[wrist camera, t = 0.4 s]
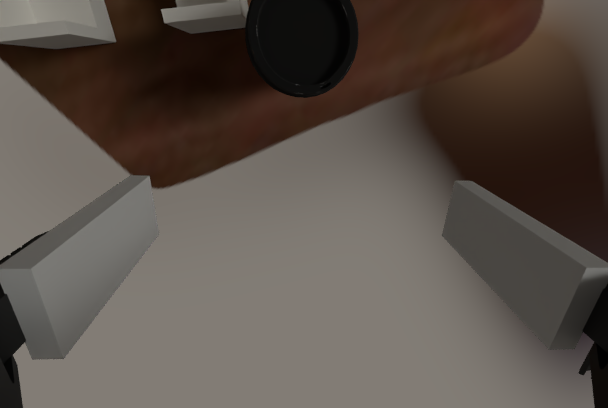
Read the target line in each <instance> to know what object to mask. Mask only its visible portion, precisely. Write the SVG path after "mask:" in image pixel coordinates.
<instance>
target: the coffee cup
mask: <svg viewBox="0 0 608 408" xmlns="http://www.w3.org/2000/svg"><path fill="white" fill-rule="evenodd" d="M245 34H246V45H247V50H248V54H249V57H250V59H251V62H252V64H253V66H254V68H255V69H256V71H257V72H258V74H259V75H260V76H261V77H262V79H263V80H264V81H265V82H266V83H267V84H269V85H270V86H271V87H273V88H274V89H275V90H277V91H279V92H281V93H283V94H286V95H290V96H294V97H304V98H307V97H313V96H318V95H320V94H323V93H325V92H327V91H329V90H330V89H332V88H333V87H335V86H336V85H337V84H338V83H339V82H340V81H341V80H342V79H343V78H344V76H345V75H346V74H347V72H348V71H349V69H350V67H351V65H352V63H353V61H354V58H355V54H356V50H357V46H358V23H357V18H356V14H355V10H354V8H353V5H352V3H351V1H350V0H252V1H251V3H250V6H249V9H248V12H247V17H246V25H245Z"/></svg>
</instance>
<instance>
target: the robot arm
mask: <svg viewBox="0 0 608 408" xmlns="http://www.w3.org/2000/svg"><path fill="white" fill-rule="evenodd" d="M158 235H159V231H158V225H157V218H156V212H155V206H154V200H153V194H152V188H151V182H150V176H131V175H130V176H129V177H128V178H126V179H125V180H123V181H122V182H120V183H119V184H117V185H116V186H114V187H113V188H112V189H110V190H109V191H107V192H106V193H104V194H103V195H101V196H100V197H98V198H97V199H95V200H94V201H93V202H91V203H90V204H88V205H87V206H85V207H84V208H82V209H81V210H79V211H78V212H76V213H75V214H74V215H72V216H71V217H69V218H68V219H66V220H65V221H63V222H62V223H60V224H59V225H58V226H56V227H55V228H53V229H52V230H50V231H48V232H45V233H43V234H41V235H38V236H36V237H34V238H33V239H31V240H30V241H28V242H27V243H26V244H24V245H23V246H22V248H18V249H17V250H15V251H13V252H12V253H11V255H8V256H6V257H5V258H3V259H2V260H0V408H23V405H22V398H21V390H20V382H19V375H18V368H17V364H16V361H15V359H14V357H13V354H14V353H15V352H16V351H17V350H18V349H19V348H20V347H21V345H22V344H23V343H24V342H25V343H26V346H27V348H28V350H29V353H30V355H31V358H32V359H64V358H65V356H66V355H67V354H68V353H69V351H70V350H71V349H72V347H73V346H74V345H75V343H76V342H77V341H78V339H79V338H80V337H81V335H82V334H83V333H84V331H85V330H86V329H87V328H88V326H89V325H90V324H91V323H92V321H93V320H94V319H95V317H96V316H97V315H98V313H99V312H100V310H101V309H102V308H103V307H104V306H105V304H106V303H107V302H108V300H109V299H110V298H111V296H112V295H113V293H114V292H115V291H116V290H117V289H118V287H119V286H120V285H121V283H122V282H123V281H124V279H125V278H126V277H127V276H128V274H129V273H130V272H131V270H132V269H133V268H134V266H135V265H136V264H137V262H138V261H139V260H140V259H141V257H142V256H143V255H144V253H145V252H146V251H147V249H148V248H149V247H150V245H151V244H152V243H153V242H154V240H155V239H156V238H157V236H158ZM442 236H443V237H444V238H445V239H446V240H447V241H448V243H449V244H450V245H451V246H452V247H453V248H454V249H455V250H456V251H457V252H458V253H459V254H460V255H461V256H462V257H463V258H464V260H466V262H467V263H468V264H469V265H470V266H471V267H472V268H473V269H474V270H475V271H476V272H477V274H478V275H479V276H480V277H481V278H482V279H483V280H484V281H485V282H486V283H487V284H488V285H489V286H490V287H491V288H492V289H493V291H495V293H497V295H498V296H499V297H500V298H501V299H502V300H503V301H504V302H505V303H506V304H507V305H508V307H510V309H511V310H512V311H513V312H514V313H515V314H516V315H517V316H518V317H519V318H520V319H521V320H522V321H523V323H524V324H526V326H527V327H528V328H529V329H530V330H531V331H532V332H533V333H534V334H535V335H536V336H537V337H538V338H539V340H540V341H541V342H542V343H543V344H544V345H545V346H546V347H547V348H548V349H550V350H552V349H553V350H554V349H575V347H576V345H577V343H578V341H579V339H580V337H581V335H582V333H583V332H584V333H585V334H587V335H588V336H589V337H590V338H591V339H592V340H593V341H594V344H593V346H592V348H591V349H590V351H589V353H588V355H587V357H586V359H585V361H584V362H583V364H582V366H581V368H580V371H579V374H581V375H584V374H585V372H586V371H588V370H591V376H592V377H591V379H592V385H593V396H594V404H595V408H608V263H607V262H605V261H603V260H602V259H600V258H598V257H597V256H595V255H593V254H592V253H590V252H589V251H587V250H585V249H584V248H582V247H580V246H579V245H577V244H575V243H574V242H572V241H570V240H569V239H567V238H565V237H563V236H562V235H560V234H559V233H557V232H555V231H553V230H552V229H550V228H549V227H547V226H545V225H544V224H542V223H540V222H539V221H537V220H535V219H534V218H532V217H530V216H529V215H527V214H525V213H524V212H522V211H520V210H519V209H517V208H515V207H514V206H512V205H511V204H509V203H507V202H505V201H504V200H502V199H501V198H499V197H497V196H495V195H494V194H492V193H491V192H489V191H487V190H486V189H484V188H482V187H481V186H479V185H477V184H476V183H474V182H472V181H455V182H454V187H453V191H452V195H451V199H450V204H449V208H448V212H447V216H446V220H445V225H444V229H443V234H442Z"/></svg>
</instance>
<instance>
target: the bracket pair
mask: <svg viewBox="0 0 608 408" xmlns="http://www.w3.org/2000/svg"><path fill="white" fill-rule="evenodd" d="M176 4H177V8H168V9H161V11H162V16H163V20H164V23H165V24H168V25H170V26H173V27H175V28H178V29H180V30H183V31H185V32H188V33H190V34H194V33H202V32H211V31H220V30H229V29H238V28H245V25H246V17H247V12H248V3H247V0H176ZM115 42H116V39H115V36H114V32H113V29H112V26H111V22H110V19H109V16H108V12H107V9H106V6H105V2H104V0H0V44H10V45H20V46H30V47H39V48H49V49H62V48H71V47H79V46H88V45H97V44H106V43H115Z"/></svg>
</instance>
